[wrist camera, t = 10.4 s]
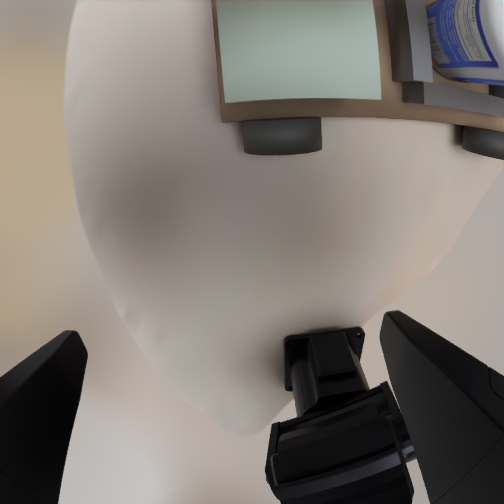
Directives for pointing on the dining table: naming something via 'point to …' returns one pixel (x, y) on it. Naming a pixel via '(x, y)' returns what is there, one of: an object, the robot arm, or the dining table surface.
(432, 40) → the pill bottle
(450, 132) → the dining table surface
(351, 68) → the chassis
